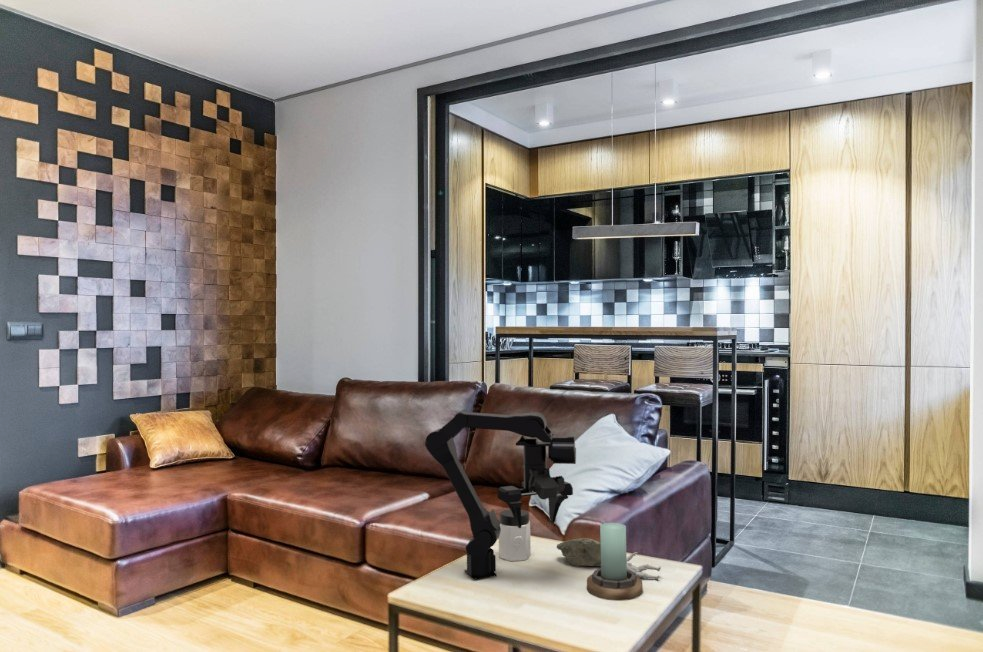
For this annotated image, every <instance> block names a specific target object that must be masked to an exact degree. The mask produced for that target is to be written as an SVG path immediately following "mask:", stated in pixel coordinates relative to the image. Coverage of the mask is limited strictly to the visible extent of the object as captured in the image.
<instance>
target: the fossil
mask: <svg viewBox="0 0 983 652" xmlns="http://www.w3.org/2000/svg"><path fill="white" fill-rule="evenodd" d="M556 549H557V550H559V551H561V553H562V554H561V555H562V557H564V559H565V561H566V562H567V563H569V564H571V565H572V566H574V567H575V566H587V567H588V566H589V567H601V542H600V541H597V540H595V539H593V538H588V537H582V538H581V537H580V538H579V537H578V538H573V539H569V540H565V541H563V542H559V543H558V544H557V545H556Z"/></svg>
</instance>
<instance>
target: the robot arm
mask: <svg viewBox="0 0 983 652" xmlns="http://www.w3.org/2000/svg"><path fill="white" fill-rule="evenodd" d="M547 424H548V422H547V419H546V417H545V416H544V414H542V413H540V412H536V411H533V412H525V413H524V412H523V413H517V414H499V413H498V414H497V413H486V412H485V413H484V412H471V411H470V412H469V411H466V410H462V411H460V412H458V413H456V414H454V417H453V418H452V419H451V420H449V421H448V422H447V423H446V424H445V425H443V426H442V427H441V428H438V429H436V430H434V431H433V430H432V431H431V432H430V433H429V434H428V435H427V436H426V438H425V440H424V441H425V442H424V445H425V448H426V450H427V452H429V454H430V455H431V457H433V459H434V460H435V461H436V462H437V463H438V464H439V465H440V466H441V467H442V468H443V470H444V471H445V474H446V476H447V477H448V480H449V481H450V483H451V485H452V487H453V489H454V491H455V492H456V495H457V497H458V498H459V501H460V502H461V504H462V507H463V508H464V510H465V512H466V514H467V516H468V520H469V521H468V522H469V526H470V531H471V533H472V537H471V539H469V541H468V543H467V544H466V546H464V547H465V551H466V569H465V570H464V574H466V575H467V576H468V577H469V578H470V579H471V580H473V581H477V580H481V579H482V580H483V579H488V578H494V577H497V575H498V574H497V573H496V566H497V563H496V560H497V559H496V556H497V555H495V554H494V552H495V551H494V549H493V548H492V547H493V546H495V544H496V543H497V541H498V540H499V535H500V532H501V528H500V524H501V522H500V519H498V517H497V515H496V511H495V510H494V509H491V510H490V511H488V510H487V508H485V507H484V505H483V503H482V502H481V499H480V498H479V496H478V495H477V492H476V490H475V488H474V487H473V485H472V483H471V480H470V479H469V477H468V475H467V473H466V471H465V470H464V468H463V465H462V464H461V462H460V459H459V457H458V452H457V447H456V444H455V441H454V438H455V437H457V435H458V434H460V433H461V432H462V431H463V430H464V429H466V428H468V429H481V430H494V431H508V432H511V433H514V434H517V435H519V436H520V438H519V440H517V441H516V442H515V446H517V447H520V446H521V447H523V465H521V471H523V481H522V482H521V487H522V488H518V487H516V486H514V485H507V486H499V489H498V490H497V499H498V500H500V501H502V502H504V503H506V504H507V506H508V507H509V509H510V510H511V512H512V514H513V516H514V519H515V521H516V524H517V526H518V528H521V524H522V521H521V510H522V505H523V502H522V501H521V499H522V497H528V496H537V497H538V498H539V499H540V500H547V499H548V511H549V513H548V515H549V521H550V524H553V525H554V524H555V521H556V519H557V515H558V512H559V509H560V507H561V504H562V503H563V502H564V501H565V500H567V499H569V496H573V495H574V488H573V485H572V484H571V483H570V482H568V481H565V478H564V476H562V475H559V476H553V477H552V476H551V474H550V468H549V467H547V456H548V460H550V461H551V462H552V464H555V465H558V464H559V465H560V464H564V465H576V463H577V448H576V442H575V440H576V439H575V436H574V435H568V436H555V435H554V433H553V432H552V431H551V429H550V428H549V426H548V425H547ZM547 450H548V451H547ZM547 452H548V453H547ZM547 454H548V455H547Z"/></svg>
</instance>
